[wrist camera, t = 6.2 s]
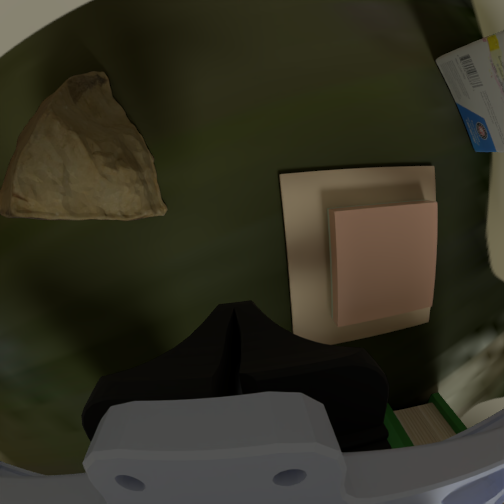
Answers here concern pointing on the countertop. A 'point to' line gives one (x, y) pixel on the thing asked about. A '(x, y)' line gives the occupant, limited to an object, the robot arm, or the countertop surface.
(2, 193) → the rock
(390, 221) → the tile
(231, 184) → the countertop surface
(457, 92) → the ink box
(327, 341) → the mat
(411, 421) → the hardback book
